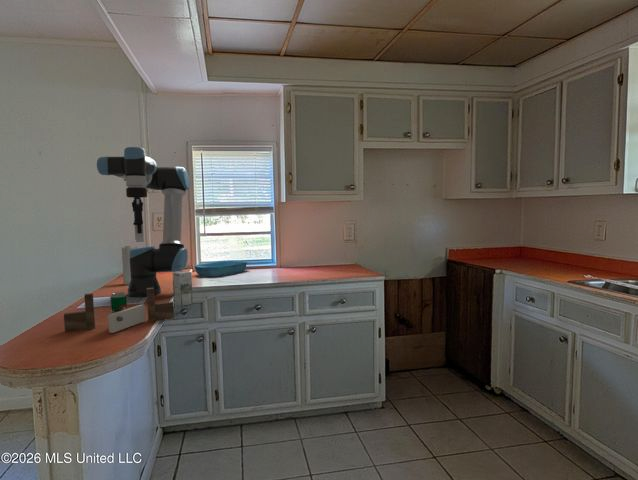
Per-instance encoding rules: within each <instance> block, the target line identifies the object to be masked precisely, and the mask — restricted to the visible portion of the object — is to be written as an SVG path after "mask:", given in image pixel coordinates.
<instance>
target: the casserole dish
mask: <svg viewBox="0 0 638 480" xmlns="http://www.w3.org/2000/svg"><path fill="white" fill-rule="evenodd" d="M247 264H248V261H247V260H220V261H215V262H207V263H200V264H199V263H198V264H195V265H194V266H193V267H194V270H195V272H196V274H197V275H198V276H200V277H209V278H213V277H214V278H218V277H223V276H230V275H234V274H239V273H243V272H245V270H246V268H247Z"/></svg>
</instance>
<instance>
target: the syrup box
mask: <svg viewBox="0 0 638 480" xmlns="http://www.w3.org/2000/svg"><path fill="white" fill-rule="evenodd" d="M192 276H193V275H192V271H190V270H189V271H188V270H182V271H178V272H172V291H173V306H175V307H180V308H182V307H188V306H192V305H193V278H192Z"/></svg>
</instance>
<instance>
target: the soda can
mask: <svg viewBox="0 0 638 480" xmlns="http://www.w3.org/2000/svg"><path fill="white" fill-rule="evenodd" d="M127 297H128V294H126V292H125V291H120V292H119V291H118V292H112V293H111V296H110V312H111V313H110V314H112V313H115V312H119V311H122V310H125V309H128V298H127Z"/></svg>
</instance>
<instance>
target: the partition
mask: <svg viewBox="0 0 638 480" xmlns="http://www.w3.org/2000/svg"><path fill="white" fill-rule="evenodd" d="M146 300H147V319H148V320H147V321H148V322H149V323H150V322H156V321H163V320H171V319H174V318H175V312H174V310H175V309H174V301H167V302H157V303H156V299H155V295H154V288H147V296H146ZM94 304H95V302H94V293H92V292H91V293H90V292H89V293H85V294H84V308H85V309H84V311H74V312H65V313H64V314H63V322H64V323H63V324H64V332H65V333H68V332H69V333H70V332H76V331H86V330H95V328H96V321H95V319H96V318H95V305H94Z"/></svg>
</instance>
